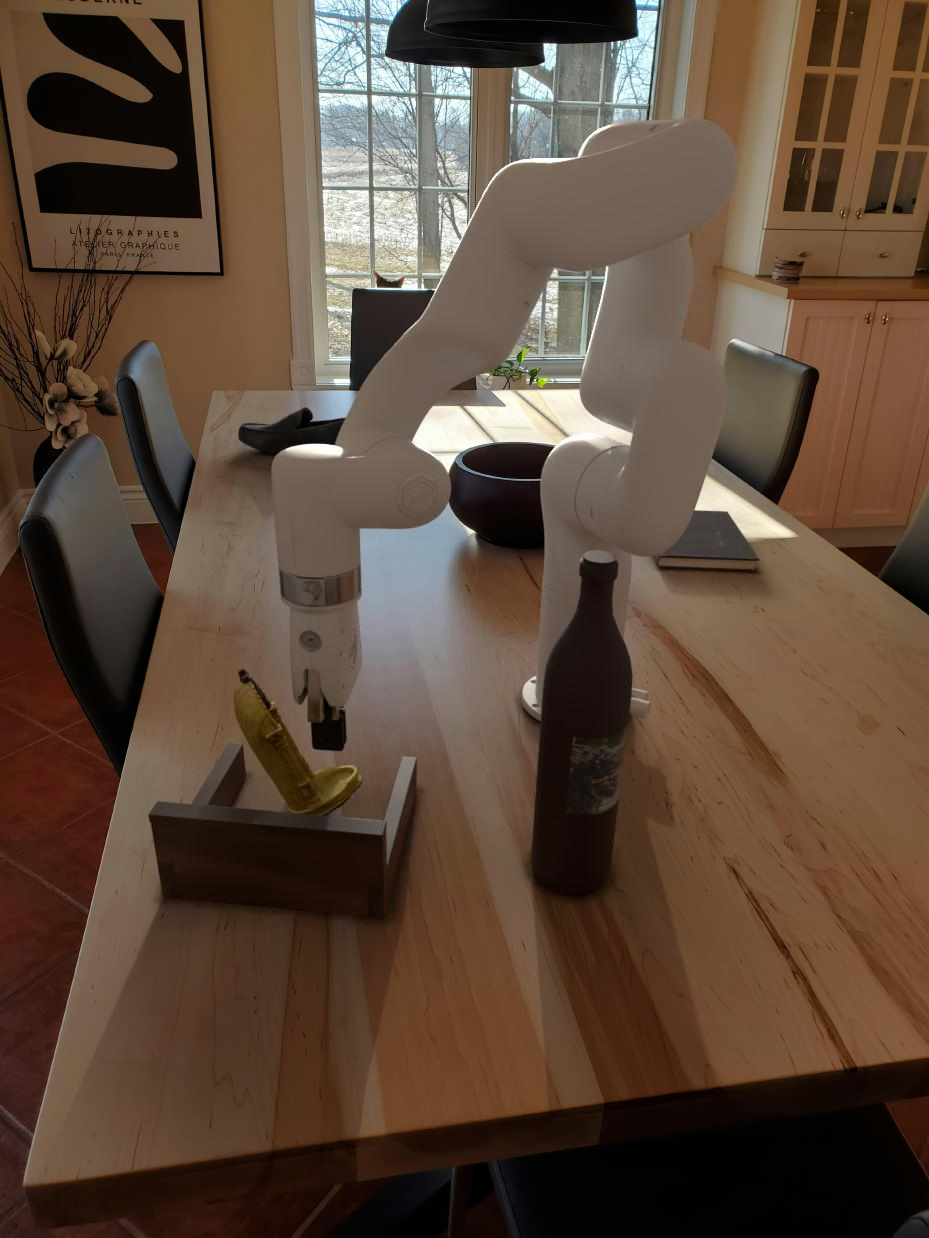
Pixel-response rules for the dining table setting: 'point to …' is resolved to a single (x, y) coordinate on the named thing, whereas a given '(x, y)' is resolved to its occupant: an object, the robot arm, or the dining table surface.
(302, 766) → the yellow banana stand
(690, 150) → the robot arm
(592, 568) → the wine bottle
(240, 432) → the loafer
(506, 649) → the dining table surface
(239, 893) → the dark wooden open frame
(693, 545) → the hardcover book
